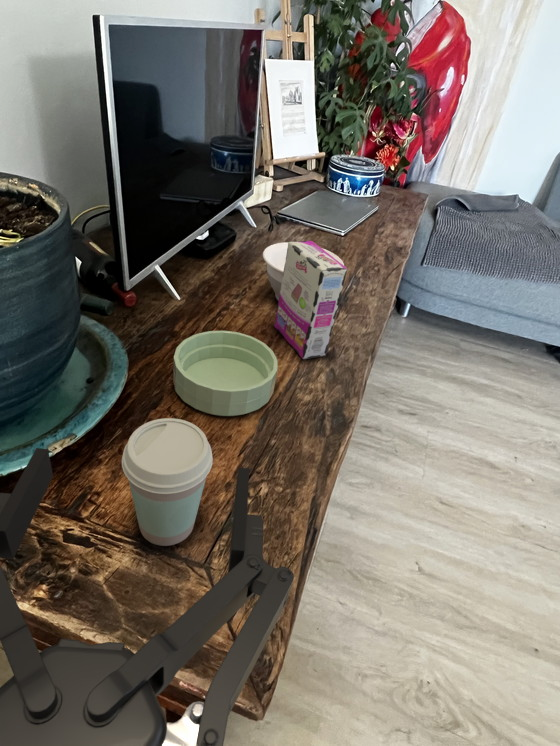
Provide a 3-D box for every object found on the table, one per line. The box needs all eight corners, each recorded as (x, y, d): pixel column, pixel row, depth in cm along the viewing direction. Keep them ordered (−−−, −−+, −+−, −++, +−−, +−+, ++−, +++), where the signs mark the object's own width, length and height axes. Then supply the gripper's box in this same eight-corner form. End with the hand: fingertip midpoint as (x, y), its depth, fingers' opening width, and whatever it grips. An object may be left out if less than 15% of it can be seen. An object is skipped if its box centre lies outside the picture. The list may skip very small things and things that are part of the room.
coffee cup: (184, 481, 58) (188, 404, 51) (220, 535, 53) (230, 458, 46) (113, 510, 54) (106, 430, 47) (145, 572, 49) (143, 493, 42)
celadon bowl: (165, 412, 67) (165, 384, 65) (182, 351, 79) (183, 325, 76) (272, 424, 69) (277, 396, 66) (273, 362, 81) (277, 337, 78)
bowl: (281, 323, 91) (288, 281, 86) (244, 283, 102) (249, 244, 97) (350, 312, 98) (360, 273, 93) (309, 276, 109) (317, 239, 104)
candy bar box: (327, 356, 85) (349, 268, 75) (302, 361, 82) (322, 270, 73) (296, 322, 92) (312, 238, 82) (272, 326, 90) (286, 240, 80)
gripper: (-313, 934, 19) (-29, 490, 36) (338, 942, 21) (311, 520, 38) (-459, 899, 14) (-56, 412, 31) (386, 914, 16) (331, 451, 33)
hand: (145, 471), depth 35 cm, fingers open, 13 cm apart
